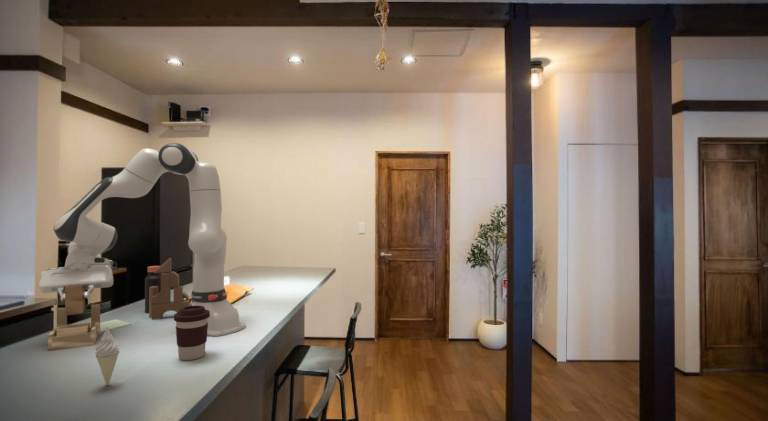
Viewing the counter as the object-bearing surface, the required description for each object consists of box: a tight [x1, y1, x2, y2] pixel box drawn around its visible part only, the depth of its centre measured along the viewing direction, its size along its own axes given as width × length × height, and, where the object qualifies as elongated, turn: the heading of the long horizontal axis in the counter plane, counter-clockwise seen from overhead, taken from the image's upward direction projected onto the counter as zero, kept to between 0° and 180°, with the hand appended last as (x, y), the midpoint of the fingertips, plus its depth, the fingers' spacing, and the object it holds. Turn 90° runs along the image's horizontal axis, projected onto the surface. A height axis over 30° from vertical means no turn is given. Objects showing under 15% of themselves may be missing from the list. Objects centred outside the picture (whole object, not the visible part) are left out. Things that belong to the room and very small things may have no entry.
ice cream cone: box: [94, 327, 120, 386], centre depth 98 cm, size 5×5×15 cm
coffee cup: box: [173, 305, 210, 361], centre depth 118 cm, size 10×10×15 cm
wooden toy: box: [148, 257, 191, 320], centre depth 163 cm, size 16×7×25 cm, turn 111°
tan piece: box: [47, 303, 101, 352], centre depth 131 cm, size 12×12×11 cm
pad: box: [90, 318, 132, 333], centre depth 148 cm, size 12×12×1 cm
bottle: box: [144, 265, 161, 314], centre depth 171 cm, size 7×7×20 cm
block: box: [64, 285, 86, 316], centre depth 129 cm, size 4×4×9 cm
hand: (74, 298), depth 129 cm, fingers closed on block, 4 cm apart
